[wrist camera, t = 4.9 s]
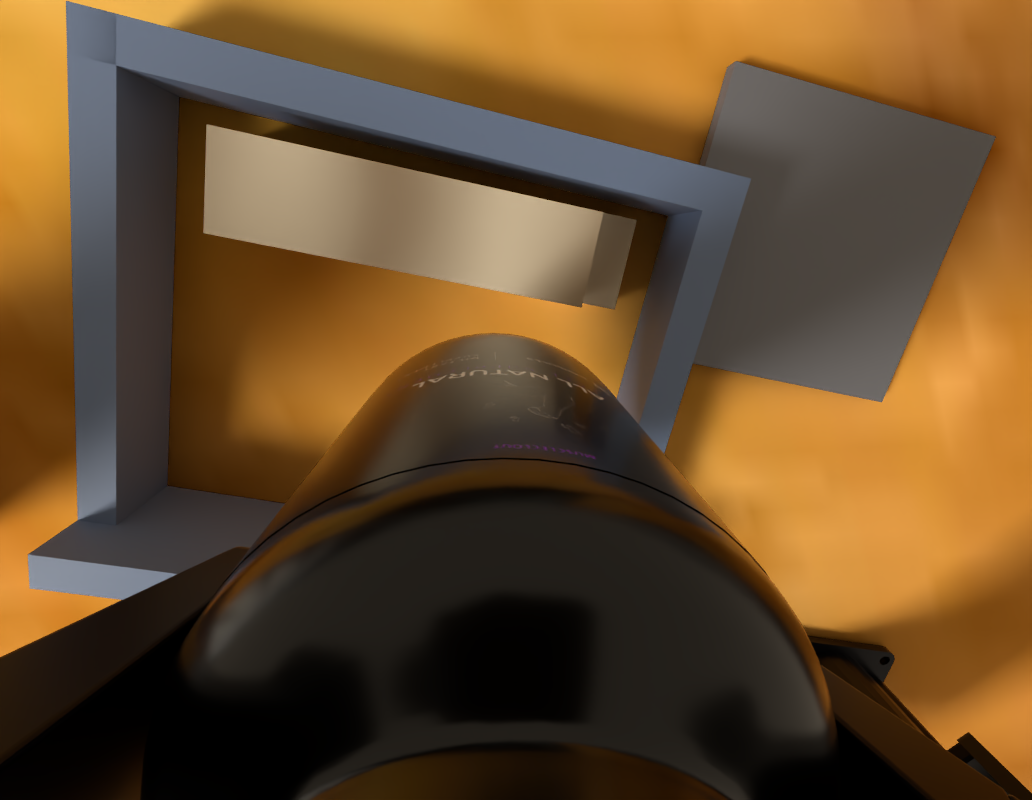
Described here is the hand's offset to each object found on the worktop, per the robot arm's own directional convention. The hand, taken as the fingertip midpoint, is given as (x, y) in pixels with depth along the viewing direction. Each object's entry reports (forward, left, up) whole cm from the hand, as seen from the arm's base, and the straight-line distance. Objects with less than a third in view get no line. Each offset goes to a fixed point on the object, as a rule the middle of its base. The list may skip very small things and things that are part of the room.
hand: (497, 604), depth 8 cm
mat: (-11, -8, -13) cm, 18 cm away
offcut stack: (+3, -5, -13) cm, 14 cm away
